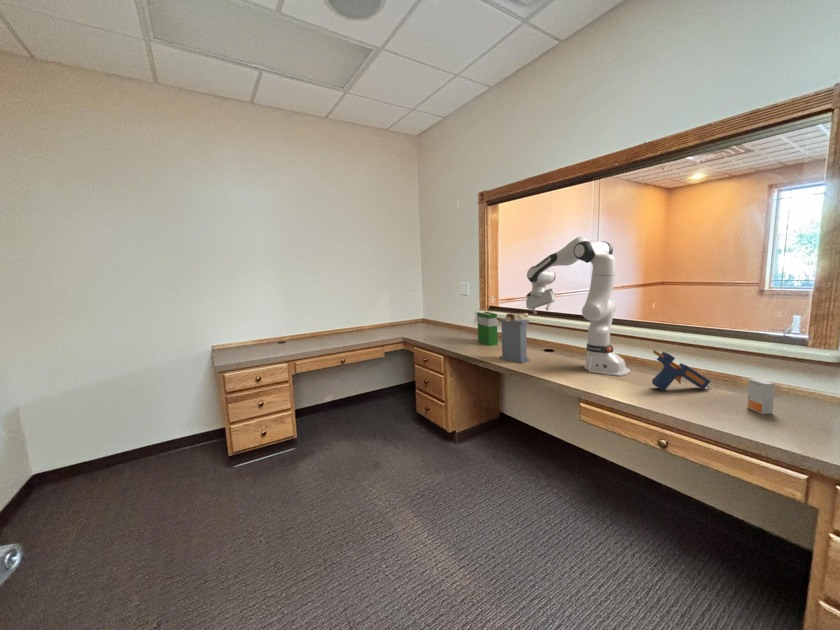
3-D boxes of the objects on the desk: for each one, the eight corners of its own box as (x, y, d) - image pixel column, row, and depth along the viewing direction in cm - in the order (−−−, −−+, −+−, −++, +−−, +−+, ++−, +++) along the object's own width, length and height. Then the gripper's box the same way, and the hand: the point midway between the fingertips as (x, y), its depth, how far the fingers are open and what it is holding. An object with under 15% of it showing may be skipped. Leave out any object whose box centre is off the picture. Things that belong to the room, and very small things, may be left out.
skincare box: (746, 408, 135) (748, 378, 133) (756, 407, 135) (758, 378, 134) (762, 414, 129) (765, 384, 127) (773, 413, 129) (775, 383, 128)
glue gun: (695, 411, 157) (718, 386, 154) (641, 376, 155) (663, 349, 152) (685, 405, 163) (707, 380, 160) (633, 371, 161) (655, 345, 158)
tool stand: (529, 360, 216) (529, 320, 213) (522, 363, 211) (521, 321, 208) (507, 356, 229) (506, 318, 226) (499, 358, 224) (498, 319, 221)
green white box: (478, 341, 278) (477, 312, 275) (486, 340, 280) (485, 311, 277) (489, 346, 262) (488, 314, 258) (497, 344, 264) (496, 313, 261)
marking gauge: (523, 316, 227) (523, 309, 227) (529, 317, 224) (529, 309, 223) (504, 320, 215) (504, 313, 214) (511, 321, 211) (511, 313, 210)
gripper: (555, 288, 225) (558, 308, 220) (529, 298, 241) (531, 316, 236) (550, 286, 221) (552, 306, 217) (524, 296, 237) (525, 314, 232)
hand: (541, 311), depth 226 cm, fingers open, 8 cm apart
